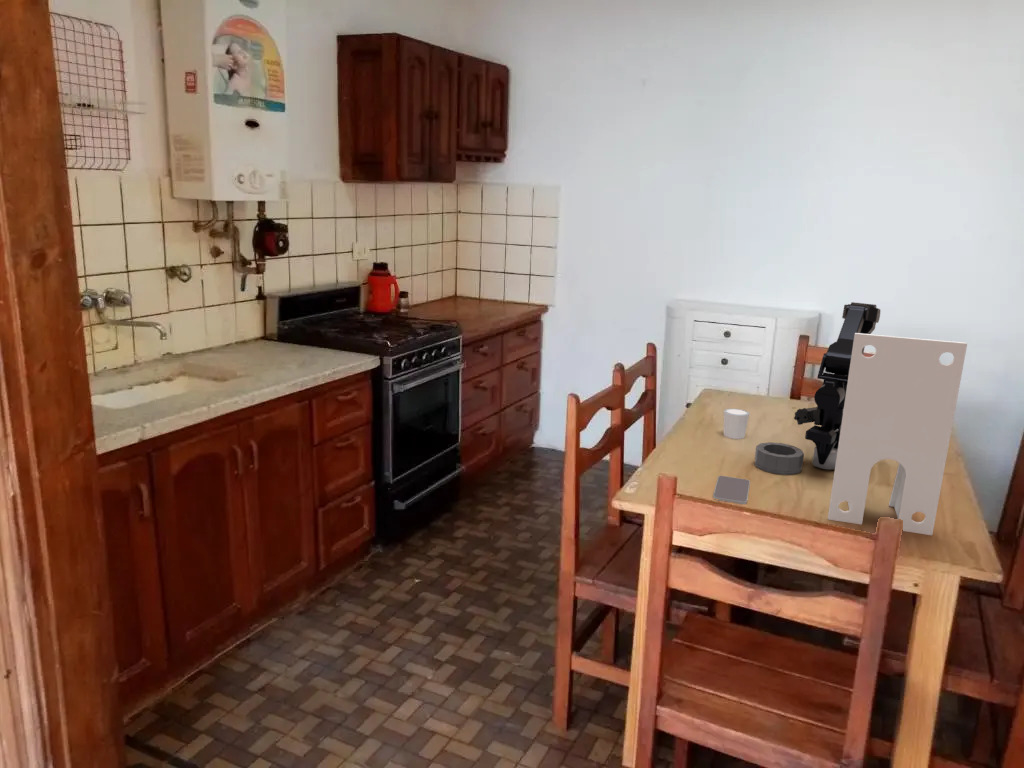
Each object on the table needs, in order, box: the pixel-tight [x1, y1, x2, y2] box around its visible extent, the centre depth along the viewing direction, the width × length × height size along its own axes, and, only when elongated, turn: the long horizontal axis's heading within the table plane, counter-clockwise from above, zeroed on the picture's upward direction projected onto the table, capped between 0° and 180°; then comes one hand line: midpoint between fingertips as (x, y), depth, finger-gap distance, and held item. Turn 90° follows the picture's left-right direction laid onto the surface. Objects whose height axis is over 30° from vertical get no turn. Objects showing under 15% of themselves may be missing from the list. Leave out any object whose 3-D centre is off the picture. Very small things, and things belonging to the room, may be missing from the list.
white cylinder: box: [723, 408, 750, 440], centre depth 224 cm, size 7×7×7 cm
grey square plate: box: [712, 475, 751, 505], centre depth 185 cm, size 7×1×15 cm
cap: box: [811, 446, 838, 470], centre depth 201 cm, size 6×6×4 cm
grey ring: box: [754, 441, 805, 476], centre depth 200 cm, size 11×11×4 cm
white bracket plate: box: [827, 333, 968, 536], centre depth 169 cm, size 20×14×40 cm
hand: (825, 461), depth 201 cm, fingers closed on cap, 6 cm apart
